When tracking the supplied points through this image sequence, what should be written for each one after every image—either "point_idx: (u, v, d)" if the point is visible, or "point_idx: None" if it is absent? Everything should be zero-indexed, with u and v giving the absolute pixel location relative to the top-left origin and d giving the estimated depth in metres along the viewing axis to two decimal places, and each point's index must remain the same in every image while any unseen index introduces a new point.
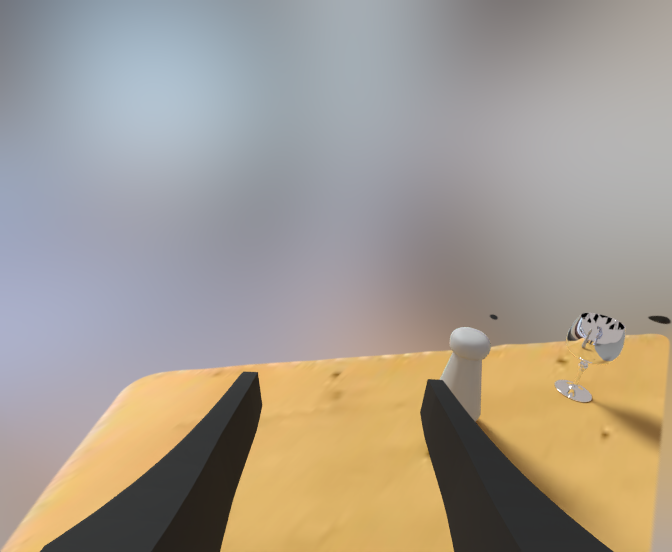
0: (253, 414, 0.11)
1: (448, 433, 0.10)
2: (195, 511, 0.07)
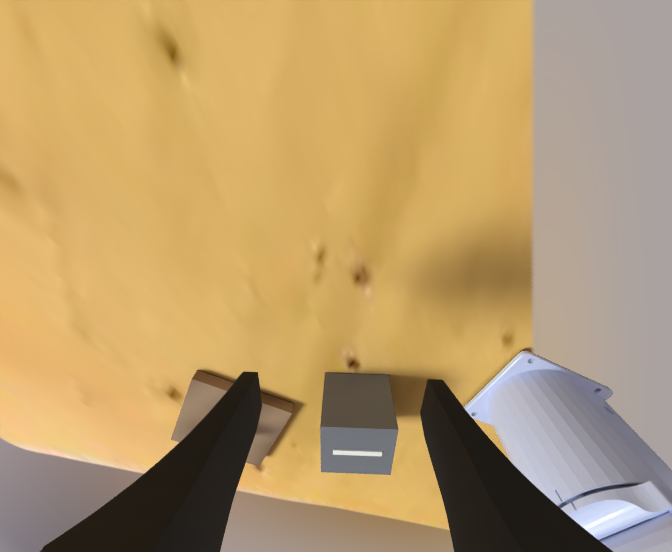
0: (253, 414, 0.11)
1: (448, 433, 0.10)
2: (195, 511, 0.07)
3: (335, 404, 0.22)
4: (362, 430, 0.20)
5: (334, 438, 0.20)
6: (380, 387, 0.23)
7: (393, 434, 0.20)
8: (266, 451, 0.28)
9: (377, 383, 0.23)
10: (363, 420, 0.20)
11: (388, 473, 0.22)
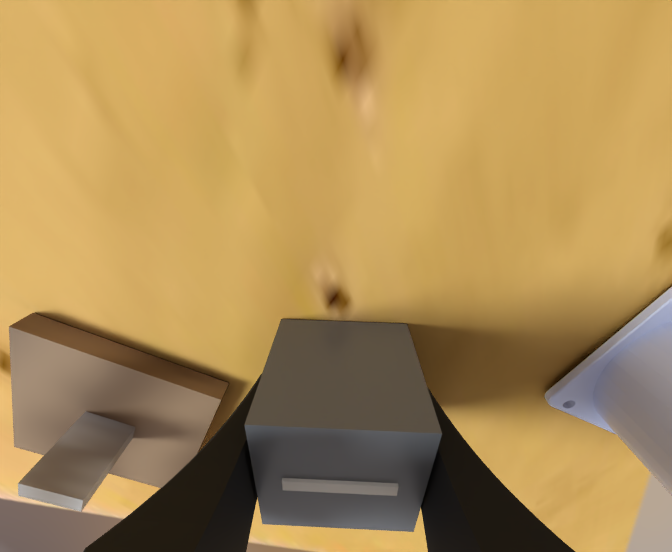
0: None
1: None
2: (227, 513, 0.07)
3: (292, 375, 0.10)
4: (351, 435, 0.08)
5: (283, 454, 0.08)
6: (392, 344, 0.11)
7: (428, 445, 0.08)
8: None
9: (386, 338, 0.11)
10: (354, 410, 0.08)
11: (409, 529, 0.10)
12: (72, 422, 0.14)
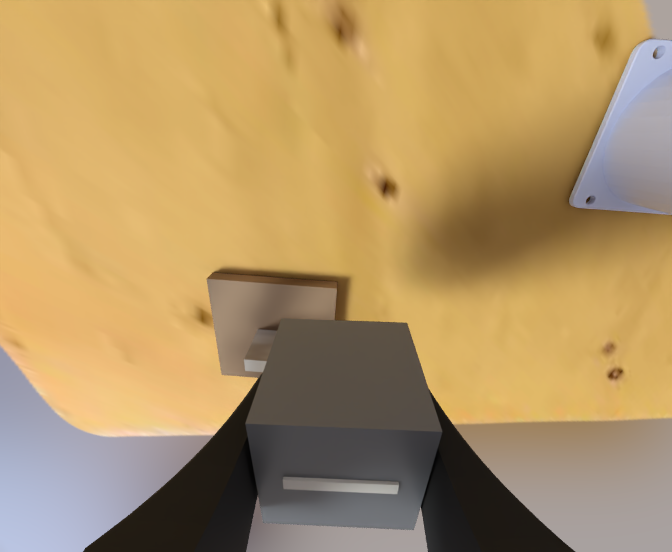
0: None
1: None
2: (227, 513, 0.07)
3: (292, 374, 0.10)
4: (351, 433, 0.08)
5: (283, 452, 0.08)
6: (392, 343, 0.11)
7: (428, 444, 0.08)
8: None
9: (386, 337, 0.11)
10: (354, 409, 0.08)
11: (409, 527, 0.10)
12: (251, 341, 0.22)
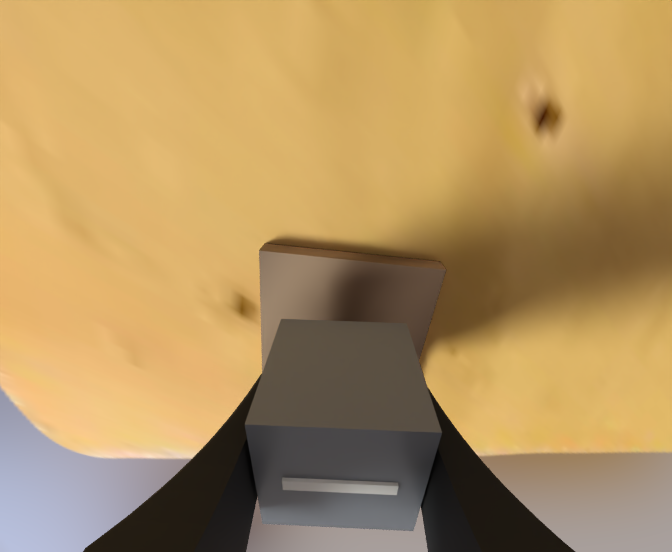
0: None
1: None
2: (227, 513, 0.07)
3: (292, 375, 0.10)
4: (351, 434, 0.08)
5: (283, 453, 0.08)
6: (391, 343, 0.11)
7: (428, 444, 0.08)
8: None
9: (385, 338, 0.11)
10: (354, 410, 0.08)
11: (409, 528, 0.10)
12: None
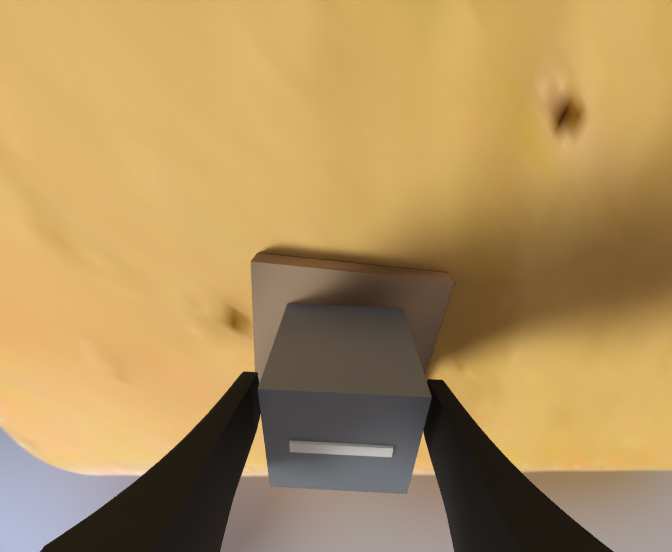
0: (253, 414, 0.11)
1: (448, 433, 0.10)
2: (195, 511, 0.07)
3: (298, 350, 0.11)
4: (351, 399, 0.09)
5: (291, 417, 0.09)
6: (389, 325, 0.12)
7: (420, 409, 0.09)
8: None
9: (383, 320, 0.12)
10: (354, 378, 0.09)
11: (403, 491, 0.11)
12: None
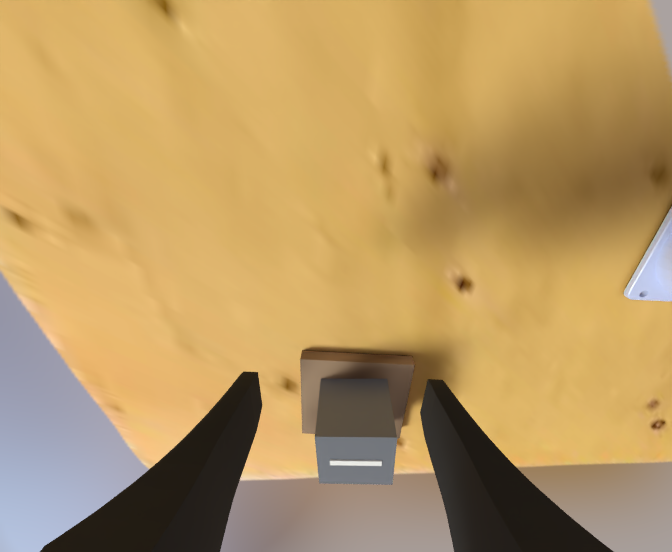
0: (253, 414, 0.11)
1: (448, 433, 0.10)
2: (195, 511, 0.07)
3: (331, 412, 0.21)
4: (359, 439, 0.19)
5: (330, 448, 0.19)
6: (378, 392, 0.22)
7: (392, 442, 0.19)
8: (401, 418, 0.25)
9: (375, 388, 0.22)
10: (360, 428, 0.19)
11: (390, 483, 0.21)
12: None
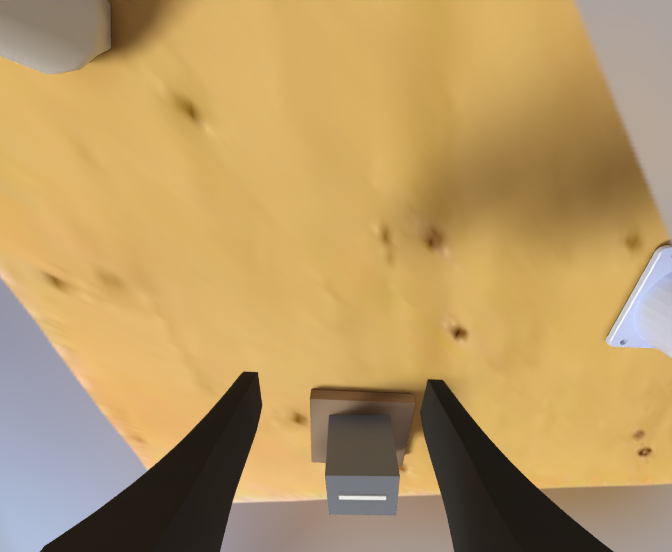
0: (253, 414, 0.11)
1: (448, 433, 0.10)
2: (195, 511, 0.07)
3: (339, 450, 0.22)
4: (365, 477, 0.21)
5: (339, 485, 0.21)
6: (382, 429, 0.24)
7: (395, 480, 0.21)
8: (403, 449, 0.27)
9: (379, 425, 0.24)
10: (366, 467, 0.21)
11: (394, 514, 0.23)
12: None
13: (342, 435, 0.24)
